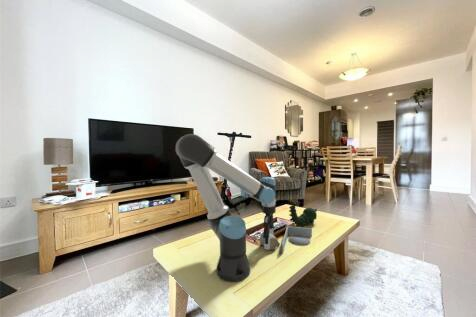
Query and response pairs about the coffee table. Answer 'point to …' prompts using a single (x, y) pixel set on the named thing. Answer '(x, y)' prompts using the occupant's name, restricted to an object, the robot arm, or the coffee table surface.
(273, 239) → the ceramic mug
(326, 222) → the coffee table surface
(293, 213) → the toy figurine
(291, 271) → the coffee table surface
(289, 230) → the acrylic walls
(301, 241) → the slate coaster
